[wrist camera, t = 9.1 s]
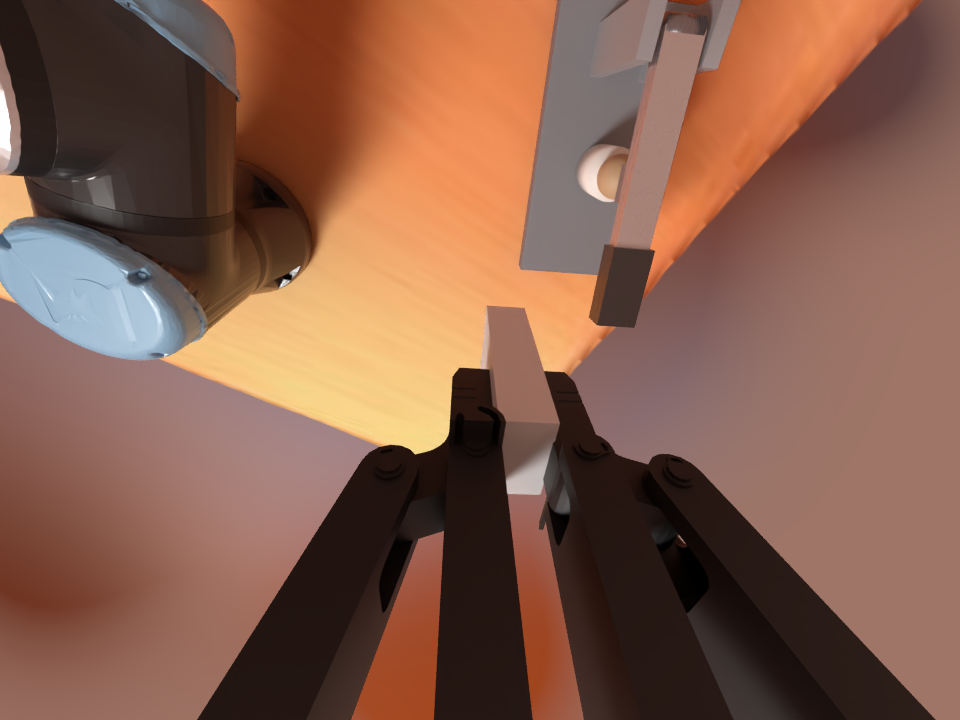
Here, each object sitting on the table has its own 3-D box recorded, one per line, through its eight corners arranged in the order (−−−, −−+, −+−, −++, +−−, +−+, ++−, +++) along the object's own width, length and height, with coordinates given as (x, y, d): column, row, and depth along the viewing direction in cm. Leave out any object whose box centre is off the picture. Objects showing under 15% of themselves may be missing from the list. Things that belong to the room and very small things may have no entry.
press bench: (518, 264, 48) (535, 309, 37) (558, -6, 34) (605, -72, 23) (620, 271, 49) (668, 318, 38) (699, 12, 35) (815, -42, 24)
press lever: (587, 315, 37) (597, 325, 34) (648, 22, 27) (668, 3, 25) (621, 317, 37) (634, 327, 34) (694, 27, 27) (719, 9, 25)
